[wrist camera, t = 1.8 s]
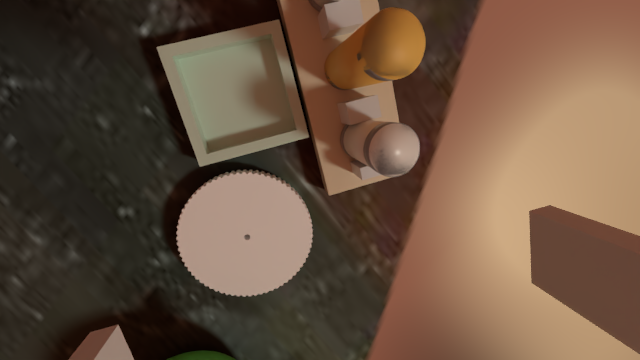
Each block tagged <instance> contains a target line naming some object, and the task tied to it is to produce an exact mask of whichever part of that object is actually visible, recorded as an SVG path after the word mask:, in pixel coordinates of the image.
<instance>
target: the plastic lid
mask: <svg viewBox="0 0 640 360" xmlns="http://www.w3.org/2000/svg"><path fill="white" fill-rule="evenodd" d="M179 217H180V219H179V220H178V223H179V224H178V225H177V229H178V230H177V232H176V234H177V235H178V236H177V237H176V240H178V242H177V246H179V248H178V251H180V254H179V255H180V257H182V262H185V264H184V265H185V267H188V271H191V272H192V273H191V275H192V276H193V275H194V276H195V279H199V280H200V283H204V285H205V286H209V288H210V289H215V290H214V291H216V292H217V291H220V293H225V294H226V295H228V294H231V296H234V295H237V296H240V295H243V297H245V296H246V295H248V296H251V295H254V296H256V295H257V294H260V295H261V294H263V292H265V293H268V291H269V290H271V291H273V289H274V288H276V289H277V288H279V286H280V285H281V286H282V285H283V283H287V282H288V280H289V279H292V276H293V275H294V276H295V275H296V272H297V271H298V272H299V270H300V267H302V266H303V263H305V261H306V260H305V259H306V258H307V257H308V253H310V249H309V248H311V243H312V237H313V234H312V232H313V229H312V223H311V218H310V214H309V212H308V209H307V207H306V204H305V203H304V200H302V198H301V196H300V195H299V194H298V192H297V191H295V189H294V188H293V187H291V186H290V184H289V183H288V184H286V181H285V180H283V181H282V180H281V178H280V177H278V178H276V176H275V175H270V173H267V174H266V173H264V171H261V172H259V171H258V170H256V171H253V170H252V169H250V170H249V171H247V170H246V169H244V170H243V171H241V170H237V171H236V172H235V171H231V173H229V172H226V173H225V174H224V175H223V174H220V175H219V176H218V177H217V176H215V177H214V178H213V179H210V180H209V181H208V182H207V183H206V182H205V183H204V184H203V185H202V186H200V187H199V189H198V190H196V191H195V193H194V194H193V195H192V196H191V197H190V199H189V200H188V202H187V203H186V204H185V207H184V208H183V209H182V213H181V214H180V216H179Z"/></svg>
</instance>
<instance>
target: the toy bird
mask: <svg viewBox="0 0 640 360" xmlns="http://www.w3.org/2000/svg"><path fill="white" fill-rule="evenodd" d="M166 360H236V359H234V358H233V357H231V356H228V355H226V354H223V353H220V352H215V351H205V350H202V351H191V352H186V353H182V354H179V355H176V356H173V357H171V358H168V359H166Z"/></svg>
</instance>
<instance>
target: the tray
mask: <svg viewBox="0 0 640 360" xmlns="http://www.w3.org/2000/svg"><path fill="white" fill-rule="evenodd" d="M156 48H157V50H158V53H159V56H160V59H161V61H162V64H163V67H164V70H165V73H166V75H167V78H168V81H169V84H170V86H171V89H172V92H173V95H174V97H175V100H176V103H177V106H178V108H179V111H180V114H181V117H182V119H183V122H184V125H185V128H186V130H187V133H188V136H189V139H190V141H191V144H192V147H193V150H194V152H195V155H196V158H197V161H198V163H199V166H200V167H201V166H205V165H208V164H212V163H216V162H219V161H223V160H227V159H230V158H234V157H238V156H242V155H245V154H249V153H253V152H256V151H260V150H264V149H267V148H271V147H275V146H278V145H282V144H286V143H289V142H293V141H297V140H301V139H304V138H308V137H309V134H308V130H307V126H306V123H305V119H304V115H303V111H302V107H301V103H300V99H299V95H298V91H297V87H296V84H295V80H294V76H293V72H292V68H291V64H290V60H289V56H288V52H287V48H286V45H285V41H284V37H283V33H282V29H281V25H280V21H279V19H278V20H274V21H269V22H265V23H260V24H256V25H252V26H247V27H243V28H238V29H234V30H230V31H225V32H221V33H216V34H212V35H208V36H203V37H199V38H194V39H190V40H186V41H181V42H177V43H172V44H168V45H164V46H159V47H156Z"/></svg>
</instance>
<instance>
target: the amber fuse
mask: <svg viewBox="0 0 640 360" xmlns="http://www.w3.org/2000/svg"><path fill="white" fill-rule="evenodd" d="M424 51H425V34H424V31H423V28H422V25H421V23H420V22H419V20H418V19H417V18H416V17H415V16H414V15H413V14H412V13H411V12H409V11H407V10H405V9H402V8H397V7H392V8H387V9H384V10H381V11H380V12H378V13H377V14H375V15H374V16H373V17H372V18H371V19H369V20H368V21H367V22H366V23H365V24H363V25H362V26H361V27H360V28H359V29H358V30H356V31H355V32H354V33H353V34H352V35H351V36H349V37H348V38H347V39H346V40H345V41H343V42H342V43H341V44H340V45H339V46H338V47H336V48H335V49H334V50H333V51H332V52H331V53H330V54H329V55H328V57H327V59H326V61H325V66H324V71H325V76H326V78H327V80H328V82H329V83H330V84H331V85H332V86H333V87H335V88H337V89H340V90H349V89H354V88H359V87H363V86H368V85H373V84H377V83H382V82H387V81H391V80H396V79H400V78H403V77H406V76H408V75H409V74H411V73H412V72H413V71H414V70H415V69H416V68H417V66H418V65H419V64H420V62H421V60H422V57H423V55H424Z"/></svg>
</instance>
